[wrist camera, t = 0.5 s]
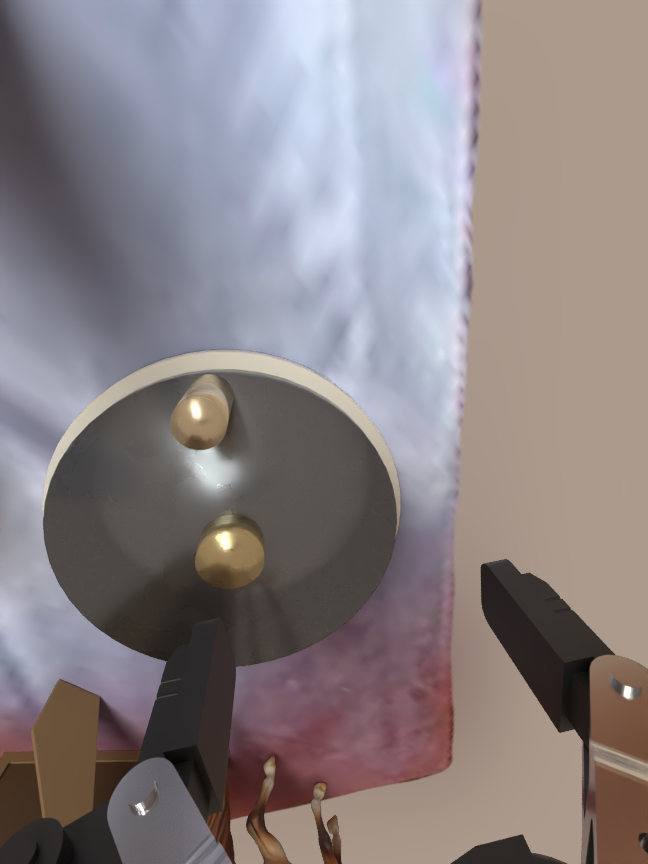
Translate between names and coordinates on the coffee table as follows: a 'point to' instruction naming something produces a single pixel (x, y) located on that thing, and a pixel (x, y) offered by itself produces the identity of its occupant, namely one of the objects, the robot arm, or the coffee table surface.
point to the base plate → (227, 361)
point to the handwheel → (220, 515)
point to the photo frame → (60, 765)
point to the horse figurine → (256, 828)
